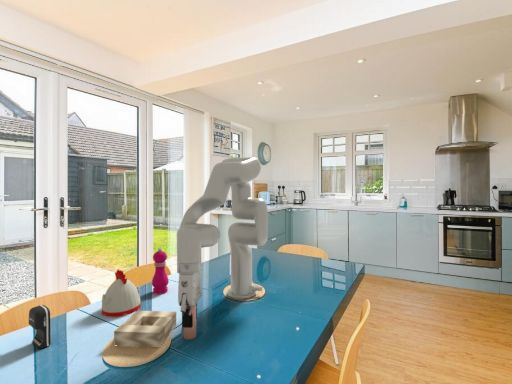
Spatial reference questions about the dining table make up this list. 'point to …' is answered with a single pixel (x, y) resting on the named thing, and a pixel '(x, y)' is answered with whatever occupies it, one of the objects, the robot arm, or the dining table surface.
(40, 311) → the black coffee maker
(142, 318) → the socket block
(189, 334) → the peg
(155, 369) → the dining table surface
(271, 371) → the dining table surface
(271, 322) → the dining table surface
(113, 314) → the white dome
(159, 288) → the pepper mill
